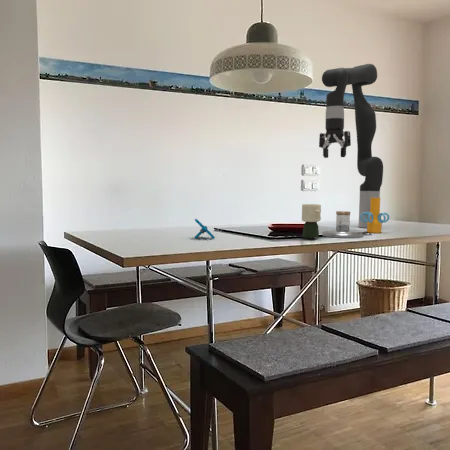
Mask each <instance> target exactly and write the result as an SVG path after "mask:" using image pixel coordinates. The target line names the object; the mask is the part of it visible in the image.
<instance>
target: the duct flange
mask: <svg viewBox="0 0 450 450" xmlns="http://www.w3.org/2000/svg"><path fill="white" fill-rule="evenodd" d="M321 235H322V236H323V237H325V238H336V239H361V238H363V237H364V233H363V232H361V231H360V232H359V231H353V230H352V231H351V230H349V232H336V230H327V231H326V230H324V231H322V232H321Z"/></svg>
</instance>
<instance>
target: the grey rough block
mask: <svg viewBox="0 0 450 450" xmlns="http://www.w3.org/2000/svg"><path fill="white" fill-rule="evenodd" d="M335 214H336V215H335V217H336V218H335V220H336V221H335V222H336V223H335V225H336V226H335V231H336V232H349V231H350V222H351V221H350V217H351V211H345V210H340V211H339V210H337V211H336V212H335Z"/></svg>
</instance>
